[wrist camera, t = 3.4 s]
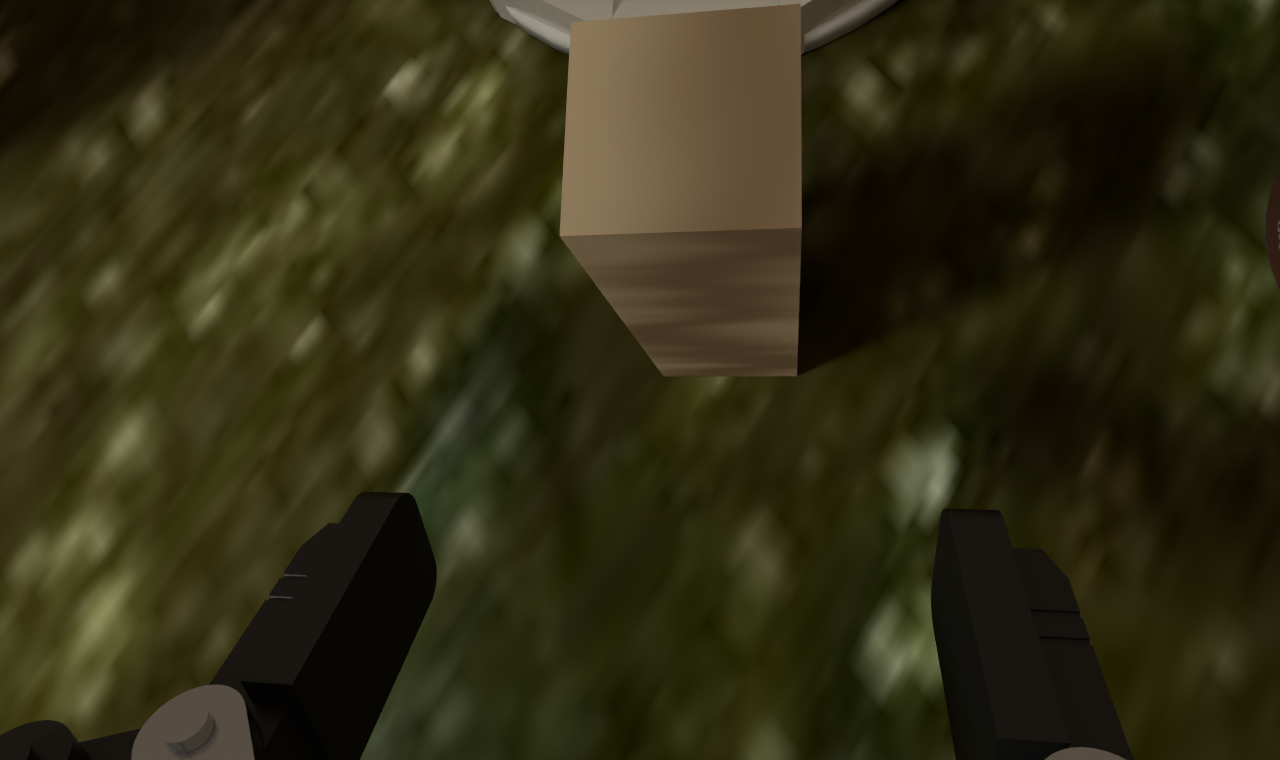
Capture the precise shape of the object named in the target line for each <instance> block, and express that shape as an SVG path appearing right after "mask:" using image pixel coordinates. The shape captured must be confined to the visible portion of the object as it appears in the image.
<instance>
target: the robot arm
mask: <svg viewBox="0 0 1280 760" xmlns="http://www.w3.org/2000/svg"><path fill="white" fill-rule="evenodd" d="M436 577H437V571H436V562H435V558H434V555H433V552H432V549H431V546H430V543H429V540H428V537H427V534H426V531H425V528H424V525H423V522H422V519H421V515H420V512H419V509H418V506H417V503H416V501H415V499H414V497H413V496H412V495H411V494H409V493H390V492H362V493H361V494H359V495H358V496H357V497H356V498H355V500H354V501H353V503H352V504H351V506H350V508H349V509H348V511H347V512H346V514H345V515H344V517H343V519H342V520H341V522H340V523H339V524H332V523H328V524H327V525H326V526H325V527H324V528H323V529H321V530H320V531H319V532H318V533H317V534H315V535H314V536H313V537H312V538H311V539H309V540H308V541H307V542H306V543H305V544H303V545H302V546H301V547H300V549H299V550H298V552H297V553H296V555H295V556H294V558H293V559H292V561H291V562H290V564H289V565H288V567H287V569H286V570H285V572H284V577H283V578H280V579H279V581H278V582H277V584H276V585H275V587H274V588H273V590H272V591H271V593H270V594H269V600H265V602H264V603H263V605H262V606H261V608H260V609H259V611H258V612H257V614H256V615H255V617H254V618H253V620H252V621H251V623H250V624H249V626H248V627H247V629H246V630H245V632H244V633H243V635H242V636H241V638H240V639H239V641H238V642H237V644H236V645H235V647H234V649H233V650H232V652H231V653H230V655H229V656H228V658H227V659H226V661H225V662H224V664H223V665H222V667H221V668H220V670H219V671H218V673H217V674H216V676H215V677H214V679H213V680H212V681H211V683H210V684H209V685H206V686H201V687H197V688H194V689H192V690H189V691H186V692H184V693H182V694H180V695H178V696H176V697H175V698H173V699H172V700H170V701H168V702H167V703H166V704H164V705H163V706H162V707H161V708H159V709H158V710H157V711H156V712H155V713H154V714H153V715H152V716H151V717H150V718H149V719H148V720H147V722H146V723H145V724H144V725H143V727H142V728H141V729H137V730H133V731H128V732H124V733H119V734H115V735H111V736H106V737H102V738H97V739H93V740H89V741H84V742H80V743H79V742H78V740H77V739H76V738H75V737H74V735H73V734H72V733H71V731H70V730H69V729H68V728H67V727H66V726H65V725H64V724H62V723H60V722H57V721H51V720H43V721H36V722H31V723H27V724H24V725H21V726H19V727H16V728H14V729H12V730H10V731H8V732H6V733H4V734H2V735H0V760H360V758H361V756H362V754H363V751H364V749H365V747H366V745H367V743H368V740H369V738H370V736H371V734H372V732H373V729H374V727H375V725H376V723H377V720H378V718H379V716H380V714H381V712H382V709H383V707H384V705H385V703H386V701H387V698H388V696H389V694H390V692H391V690H392V687H393V685H394V683H395V681H396V679H397V676H398V674H399V672H400V670H401V667H402V665H403V663H404V661H405V659H406V656H407V654H408V652H409V650H410V648H411V645H412V643H413V641H414V639H415V637H416V634H417V632H418V630H419V628H420V626H421V623H422V621H423V619H424V617H425V614H426V612H427V610H428V608H429V606H430V603H431V601H432V599H433V595H434V592H435V587H436ZM931 609H932V621H933V629H934V635H935V640H936V646H937V652H938V658H939V663H940V669H941V675H942V681H943V687H944V692H945V698H946V704H947V710H948V716H949V721H950V727H951V733H952V739H953V744H954V750H955V756H956V760H1135V759H1134V758H1133V756H1132V753H1131V751H1130V749H1129V747H1128V744H1127V741H1126V738H1125V736H1124V733H1123V730H1122V727H1121V724H1120V722H1119V719H1118V716H1117V713H1116V710H1115V708H1114V705H1113V702H1112V699H1111V697H1110V694H1109V691H1108V688H1107V685H1106V683H1105V680H1104V677H1103V674H1102V671H1101V669H1100V666H1099V663H1098V660H1097V657H1096V655H1095V652H1094V649H1093V646H1090V638H1089V635H1088V632H1087V630H1086V627H1085V624H1084V621H1083V618H1080V610H1079V607H1078V604H1077V602H1076V599H1075V596H1074V593H1073V591H1072V588H1071V585H1070V582H1069V579H1068V578H1067V577H1066V575H1065V574H1064V573H1063V572H1062V571H1061V570H1060V569H1059V568H1058V567H1057V566H1056V565H1055V563H1054V562H1053V561H1052V560H1051V559H1050V558H1049V557H1048V556H1047V555H1046V554H1045V552H1044V551H1043V550H1042V549H1021V548H1012V546H1011V543H1010V539H1009V536H1008V533H1007V529H1006V526H1005V522H1004V519H1003V516H1002V514H1001V513H1000V511H998V510H974V509H943V511H942V513H941V518H940V525H939V532H938V540H937V548H936V555H935V563H934V570H933V578H932V588H931Z"/></svg>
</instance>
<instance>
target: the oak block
mask: <svg viewBox="0 0 1280 760" xmlns="http://www.w3.org/2000/svg"><path fill="white" fill-rule="evenodd" d="M560 237H561V238H562V240H563V241H564V242H565V244H566V245H567V246H568V248H569V249H570V250H571V252H572V253H573V255H574V256H575V257H576V259H577V260H578V261H579V263H580V264H581V265H582V267H583V268H584V269H585V271H586V272H587V273H588V275H589V276H590V277H591V279H592V280H593V281H594V283H595V284H596V286H597V287H598V288H599V290H600V291H601V292H602V294H603V295H604V296H605V298H606V299H607V300H608V302H609V303H610V304H611V306H612V307H613V308H614V310H615V311H616V312H617V314H618V315H619V316H620V318H621V319H622V321H623V322H624V323H625V325H626V326H627V327H628V329H629V330H630V331H631V333H632V334H633V335H634V337H635V338H636V339H637V341H638V342H639V343H640V345H641V346H642V347H643V349H644V350H645V352H646V353H647V354H648V356H649V357H650V358H651V360H652V361H653V362H654V364H655V365H656V366H657V368H658V369H659V370H660V372H661V373H662V374H663V376H797V358H798V328H799V298H800V267H801V237H802V174H801V4H791V5H778V6H766V7H753V8H741V9H729V10H716V11H704V12H691V13H679V14H666V15H654V16H642V17H629V18H617V19H604V20H592V21H579V22H571V31H570V50H569V70H568V89H567V108H566V127H565V146H564V165H563V185H562V204H561V223H560Z"/></svg>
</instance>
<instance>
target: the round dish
mask: <svg viewBox="0 0 1280 760" xmlns="http://www.w3.org/2000/svg"><path fill="white" fill-rule="evenodd" d="M489 1H490V3H491V4H492V6H493V8H494V10H495V11H496V13H497V12H498V13H499V15H500V16H501V17H502V18H504V19H506V20H508V21H510V22H512V23H514V24H516V25H517V26H518V27H520V28H521V29H522V30H523V31H525V32H526V33H528V34H529V35H531V36H533V37H535V38H536V39H538V40H540V41H542V42H543V43H545V44H547V45H549V46H550V47H552V48H554V49H556V50H558V51H560V52H563V53H565V54H568V55H569V50H570V31H571V22H579V21H592V20H604V19H617V18H629V17H642V16H654V15H666V14H679V13H691V12H704V11H716V10H729V9H741V8H753V7H766V6H778V5H791V4H801V54H803V53H805V52H808V51H811V50H813V49H816V48H819V47H821V46H823V45H825V44H827V43H829V42H831V41H833V40H835V39H837V38H839V37H841V36H843V35H845V34H847V33H849V32H851V31H853V30H855V29H857V28H859V27H860V26H862V25H863V24H865V23H866V22H868V21H869V20H871V19H872V18H874V17H875V16H877V15H878V14H880V13H881V12H883V11H884V10H886V9H887V8H889V7H890V6H892V5H893V4H895V3H896V2H897V1H898V0H489Z"/></svg>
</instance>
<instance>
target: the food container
mask: <svg viewBox="0 0 1280 760" xmlns="http://www.w3.org/2000/svg"><path fill="white" fill-rule="evenodd" d="M1266 245H1267V251H1268V257H1269V262H1270V267H1271V270H1272V273H1273V275H1274V278H1275V281H1276V284H1277V287H1278V289H1279V292H1280V169H1279V171H1278V174H1277V176H1276V179H1275V181H1274V184H1273V186H1272V188H1271V191H1270V196H1269V201H1268V206H1267V212H1266Z"/></svg>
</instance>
